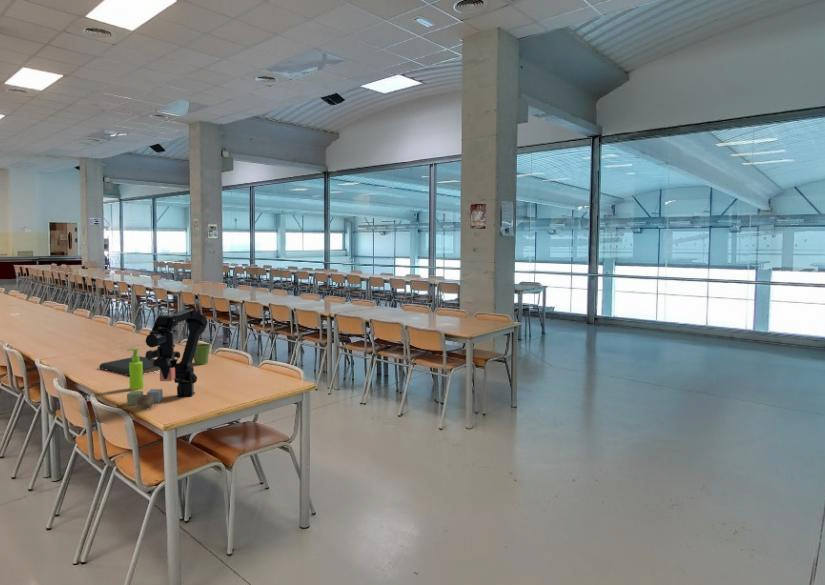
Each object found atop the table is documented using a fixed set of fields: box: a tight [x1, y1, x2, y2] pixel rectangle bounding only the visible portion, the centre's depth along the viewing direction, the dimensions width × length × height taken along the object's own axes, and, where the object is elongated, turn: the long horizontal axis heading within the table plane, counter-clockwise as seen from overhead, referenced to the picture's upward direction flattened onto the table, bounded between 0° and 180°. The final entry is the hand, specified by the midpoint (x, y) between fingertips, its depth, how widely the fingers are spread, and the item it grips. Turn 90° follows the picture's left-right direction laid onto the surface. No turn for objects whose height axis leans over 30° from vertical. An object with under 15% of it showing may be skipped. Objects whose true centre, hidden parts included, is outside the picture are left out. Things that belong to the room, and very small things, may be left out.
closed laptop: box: [99, 355, 161, 376], centre depth 309 cm, size 33×4×24 cm
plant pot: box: [193, 343, 212, 365], centre depth 323 cm, size 12×12×11 cm
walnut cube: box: [136, 394, 154, 410], centre depth 237 cm, size 5×5×5 cm
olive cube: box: [126, 390, 144, 406], centre depth 242 cm, size 5×5×5 cm
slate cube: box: [146, 388, 164, 403], centre depth 246 cm, size 5×5×5 cm
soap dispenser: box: [126, 347, 144, 391], centre depth 266 cm, size 6×7×20 cm
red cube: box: [159, 367, 175, 382], centre depth 242 cm, size 5×5×5 cm
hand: (167, 377), depth 242 cm, fingers closed on red cube, 5 cm apart
